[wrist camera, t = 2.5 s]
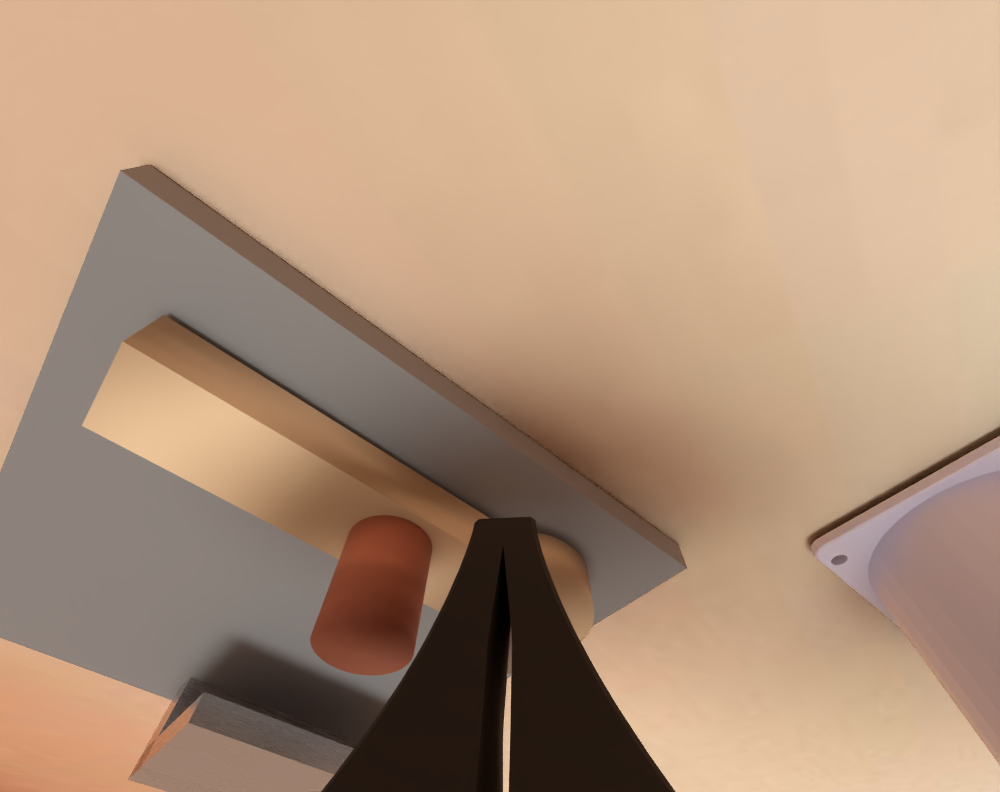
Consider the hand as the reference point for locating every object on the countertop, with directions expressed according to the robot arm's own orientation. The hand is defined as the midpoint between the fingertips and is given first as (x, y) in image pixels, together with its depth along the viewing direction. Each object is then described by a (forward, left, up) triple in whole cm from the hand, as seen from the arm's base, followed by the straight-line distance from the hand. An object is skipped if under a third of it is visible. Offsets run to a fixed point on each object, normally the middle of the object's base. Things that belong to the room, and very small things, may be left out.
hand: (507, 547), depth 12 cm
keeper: (-4, +16, -4) cm, 17 cm away
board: (+2, +10, -4) cm, 11 cm away
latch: (+2, +3, -3) cm, 5 cm away
